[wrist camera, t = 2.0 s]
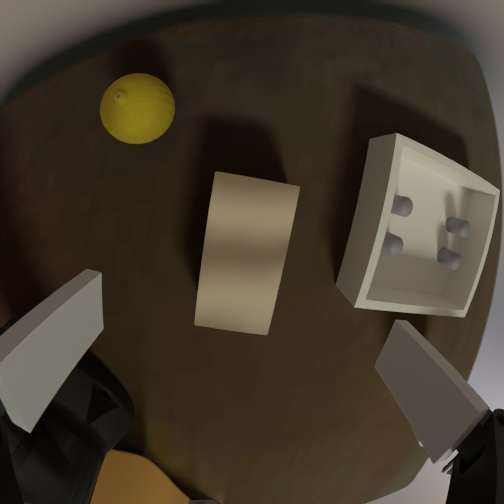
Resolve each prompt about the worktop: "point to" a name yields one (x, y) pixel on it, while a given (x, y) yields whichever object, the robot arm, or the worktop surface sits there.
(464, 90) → the worktop surface
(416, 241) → the white open box
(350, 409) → the worktop surface
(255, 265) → the beige rectangular block
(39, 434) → the robot arm
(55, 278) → the worktop surface
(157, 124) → the lemon
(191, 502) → the coffee box
